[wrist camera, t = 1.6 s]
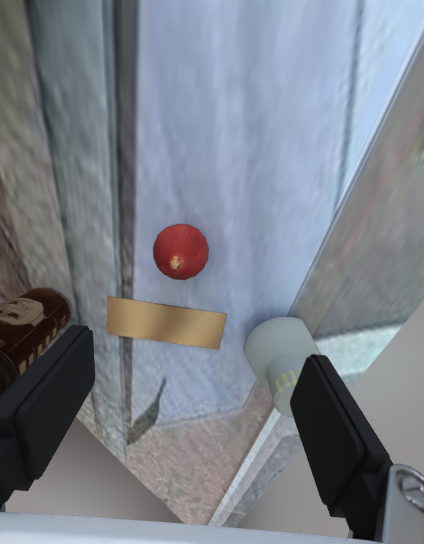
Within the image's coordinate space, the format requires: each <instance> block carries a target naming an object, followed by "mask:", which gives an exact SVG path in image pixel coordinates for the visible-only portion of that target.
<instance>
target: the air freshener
mask: <svg viewBox="0 0 424 544" xmlns="http://www.w3.org/2000/svg"><path fill="white" fill-rule="evenodd" d="M243 348H244V352H245V355H246V357H247V359H248V362H249V364H250V366H251V368H252V369H253V371H254V373H255V375H256V376H257V378H258V379H259V381H260V382H261V383H262V385H263V386H264V387H266V388H268V389H270V391H271V395H272V398H273V402H274V405H275V408H276V409H277V410H278V411H279V412H280V413H281V414H283V415H285V416H287V417H290V418H294V417H293V414H292V411H291V408H290V398H291V396H292V393H293V391H294V388H295V386H296V383H297V381H298V378H299V375H300V373H301V370H302V368H303V365H304V363H305V360H306V358H307V357H310V355H311V354H317V355H321V354H320V352H319V350H318V348H317V346H316V344H315V342H314V340H313V338H312V337H311V335H310V333H309V331H308V329H307V328H306V326H305V324H304V322H303V321H302V319H299V318H295V317H276V318H272V319H269V320H267V321H264V322H262V323H261V324H259V325H258V326H256V327H255V328H254V329H253V330H252V331H251V332H250V334H249V335H248V337H247V338H246V340H245V343H244V346H243Z"/></svg>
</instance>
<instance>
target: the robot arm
mask: <svg viewBox="0 0 424 544" xmlns="http://www.w3.org/2000/svg"><path fill="white" fill-rule="evenodd" d="M94 381H95V364H94V346H93V332H92V330H89V327H88V326H82V325H71V326H70V327H69V328H68V329H67V330H66V332H65V333H64V334H63V335H62V336H61V337H60V338H59V339H58V340H57V341H56V342H55V343H54V344H53V345H52V346H51V348H50V349H49V350H48V351H47V352H46V353H45V354H44V355H42V356H40V357H38V358H37V359H36V360H35V361H34V362H33V363H32V364H31V365H30V366H29V367H28V368H27V370H26V371H25V372H24V373H23V374H22V375H21V376H20V377H19V378H18V379H17V380H16V381H15V382H14V383H13V384H12V385H11V386H10V387H9V388H8V389H7V390H6V391H5V393H4V394H3V395H2V396H1V397H0V544H424V476H423V475H422V474H421V473H420V472H418V471H417V470H415V469H413V468H411V467H410V466H407V465H403V464H393V463H392V461H391V459H390V458H389V457H390V456H389V454H388V453H387V451H386V449H385V448H384V446H383V445H382V443H381V442H380V440H379V438H378V437H377V435H376V433H375V432H374V430H373V429H372V427H371V426H370V424H369V422H368V421H367V420H366V418H365V416H364V415H363V413H362V411H361V410H360V408H359V406H358V405H357V403H356V402H355V400H354V398H353V397H352V396H351V394H350V392H349V391H348V389H347V387H346V386H345V384H344V383H343V381H342V379H341V378H340V376H339V375H338V373H337V371H336V370H335V368H334V367H333V365H332V363H331V362H330V360H329V359H328V357H327V356H325V355H317V354H311V355H310V357H307V358H306V360H305V363H304V365H303V368H302V370H301V373H300V375H299V378H298V381H297V383H296V386H295V388H294V391H293V393H292V396H291V398H290V408H291V411H292V414H293V417H294V420H295V423H296V426H297V429H298V432H299V435H300V438H301V441H302V444H303V447H304V450H305V453H306V456H307V459H308V462H309V465H310V468H311V471H312V474H313V477H314V480H315V483H316V486H317V489H318V492H319V495H320V498H321V500H322V502H323V503H324V504H325V505H327V508H328V511H329V513H330V516H331V517H340V518H346V521H347V524H348V526H349V534H348V538H340V537H331V536H322V535H311V534H300V533H288V532H275V531H264V530H253V529H241V528H229V527H217V526H204V525H192V524H179V523H167V522H153V521H141V520H127V519H114V518H100V517H87V516H73V515H55V514H38V513H37V514H36V513H18V512H5V502H6V501H8V499H9V498H10V496H11V494H12V493H13V491H14V490H21V491H28V490H29V488H30V487H31V485H32V483H33V481H34V480H35V479H39V478H40V477H41V476H42V475H43V473H44V471H45V470H46V468H47V466H48V464H49V462H50V461H51V459H52V457H53V455H54V454H55V452H56V450H57V448H58V447H59V445H60V443H61V441H62V440H63V438H64V436H65V434H66V432H67V431H68V429H69V427H70V425H71V424H72V422H73V420H74V418H75V417H76V415H77V413H78V411H79V410H80V408H81V406H82V404H83V403H84V401H85V399H86V397H87V395H88V394H89V392H90V390H91V388H92V387H93V384H94Z"/></svg>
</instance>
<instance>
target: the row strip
mask: <svg viewBox="0 0 424 544" xmlns="http://www.w3.org/2000/svg"><path fill="white" fill-rule="evenodd" d="M226 316H227V314H224V313H217V312H210V311H203V310H197V309H190V308H183V307H176V306H170V305H163V304H156V303H149V302H143V301H136V300H129V299H122V298H116V297H108V334H111V335H118V336H126V337H133V338H140V339H147V340H155V341H162V342H169V343H176V344H184V345H191V346H198V347H205V348H212V349H219V346H220V342H221V337H222V333H223V329H224V325H225V320H226Z"/></svg>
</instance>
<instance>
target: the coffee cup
mask: <svg viewBox="0 0 424 544" xmlns="http://www.w3.org/2000/svg"><path fill="white" fill-rule="evenodd" d="M70 315H71V308H70V305H69V303H68V301H67V299H66V298H64V297H63V296H62V295H61V294H59V293H58V292H56V291H54V290H51V289H47V288H36V289H32V290H31V291H29V292H28V293H26V294H25V295H22V296H20V297H17V298H14V299H11V300H8V301H7V302H5V303H2V304H1V305H0V397H1V396H2V395H3V394H4V393H5V391H6V390H7V389H8V388H9V387H10V386H11V385H12V384H13V383H14V382H15V381H16V380H17V379H18V378H19V377H20V376H21V375H22V374H23V373H24V372H25V371H26V370H27V368H28V367H29V366H30V365H31V364H32V363H33V362H34V361H35V360H36V358H37V357H38V356H39V355H40V353H41V352H42V351H43V350H44V348H45V347H46V346H47V345H48V344H49V343H50V342H51V341H52V339H53V338H55V336H56V335H57V333H58V331H59V330H60V329H61V328H63V327H64V326H65V325H66V324H67V323H68V321H69V319H70Z"/></svg>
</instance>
